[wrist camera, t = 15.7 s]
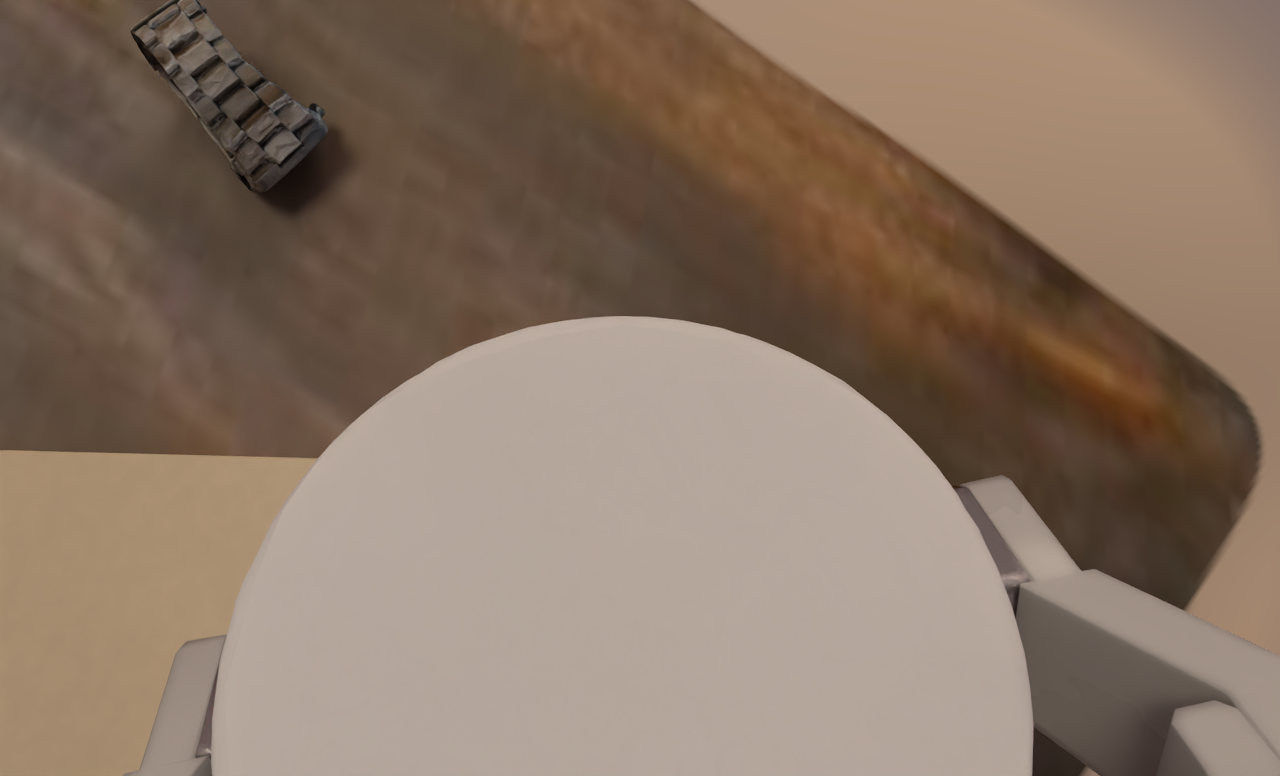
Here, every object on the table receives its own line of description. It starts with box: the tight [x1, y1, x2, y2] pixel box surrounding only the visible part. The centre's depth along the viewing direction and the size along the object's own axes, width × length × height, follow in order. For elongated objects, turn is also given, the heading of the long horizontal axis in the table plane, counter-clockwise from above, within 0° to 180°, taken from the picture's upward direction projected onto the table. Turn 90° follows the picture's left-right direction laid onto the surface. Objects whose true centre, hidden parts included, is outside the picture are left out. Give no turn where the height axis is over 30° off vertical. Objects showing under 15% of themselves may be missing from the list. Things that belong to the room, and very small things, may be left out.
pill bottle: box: [211, 316, 1034, 776], centre depth 11 cm, size 6×6×11 cm
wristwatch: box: [130, 0, 328, 193], centre depth 28 cm, size 3×5×5 cm
